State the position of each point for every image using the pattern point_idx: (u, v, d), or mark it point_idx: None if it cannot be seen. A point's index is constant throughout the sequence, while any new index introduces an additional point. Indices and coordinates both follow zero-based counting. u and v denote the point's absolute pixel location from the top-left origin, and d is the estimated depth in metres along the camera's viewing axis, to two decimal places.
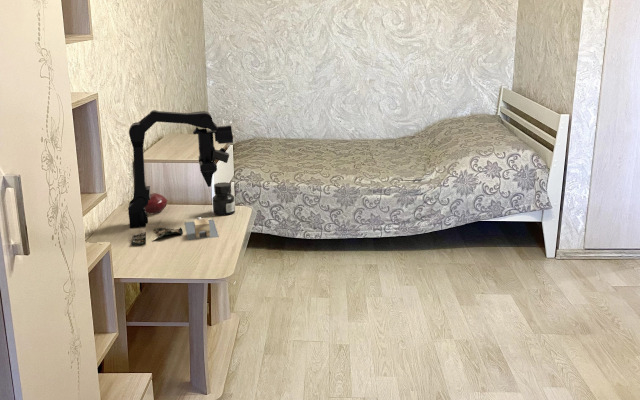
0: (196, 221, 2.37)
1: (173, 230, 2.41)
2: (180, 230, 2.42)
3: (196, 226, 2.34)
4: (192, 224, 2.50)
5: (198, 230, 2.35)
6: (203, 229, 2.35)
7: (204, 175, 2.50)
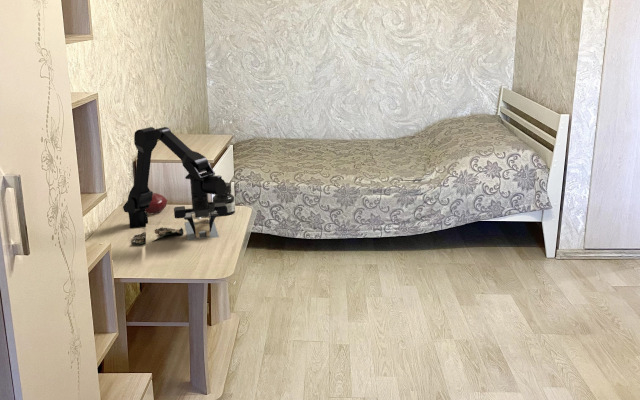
0: (196, 221, 2.37)
1: (174, 230, 2.41)
2: (181, 230, 2.42)
3: (196, 226, 2.34)
4: None
5: (198, 230, 2.35)
6: (203, 229, 2.35)
7: None
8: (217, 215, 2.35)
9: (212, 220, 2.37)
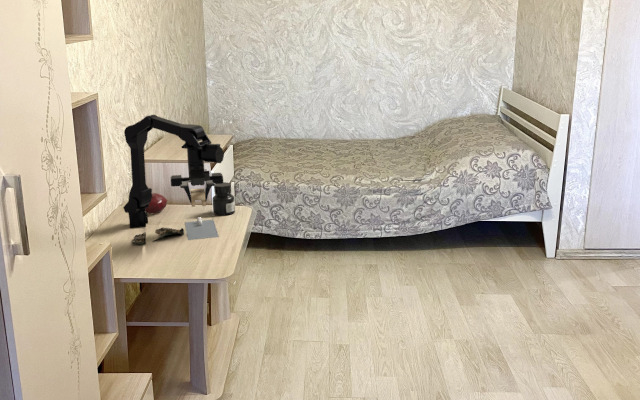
0: (192, 190, 2.41)
1: (174, 230, 2.41)
2: (181, 230, 2.41)
3: (192, 195, 2.37)
4: (192, 224, 2.50)
5: (194, 199, 2.38)
6: (199, 198, 2.38)
7: None
8: (213, 184, 2.39)
9: (208, 189, 2.40)
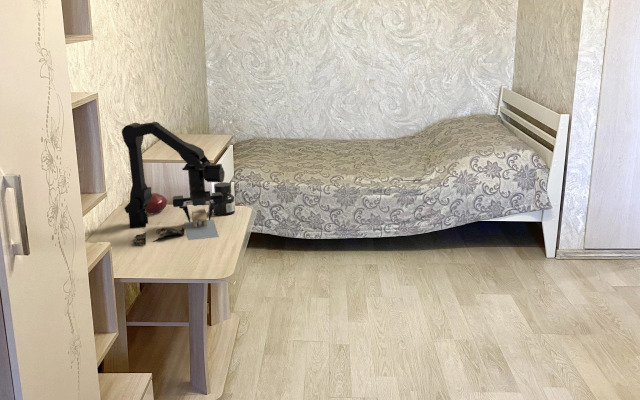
0: (193, 211, 2.49)
1: (175, 231, 2.40)
2: (182, 231, 2.41)
3: (194, 215, 2.46)
4: (192, 224, 2.50)
5: (196, 219, 2.47)
6: (200, 218, 2.47)
7: None
8: (216, 204, 2.47)
9: (211, 208, 2.49)
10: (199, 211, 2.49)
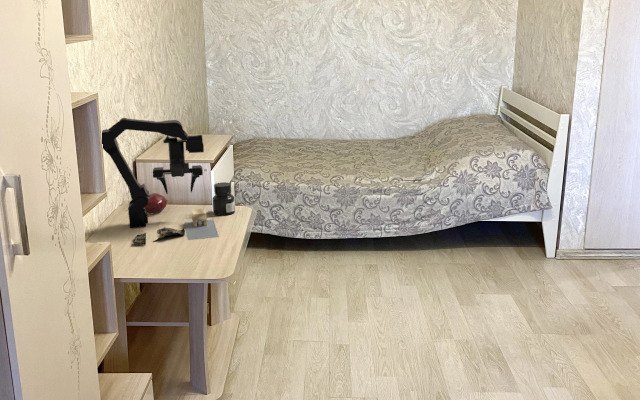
0: (193, 211, 2.49)
1: (176, 231, 2.40)
2: (183, 231, 2.41)
3: (194, 215, 2.46)
4: (192, 224, 2.50)
5: (196, 219, 2.47)
6: (200, 218, 2.47)
7: None
8: (198, 176, 2.53)
9: (193, 180, 2.54)
10: (199, 211, 2.49)
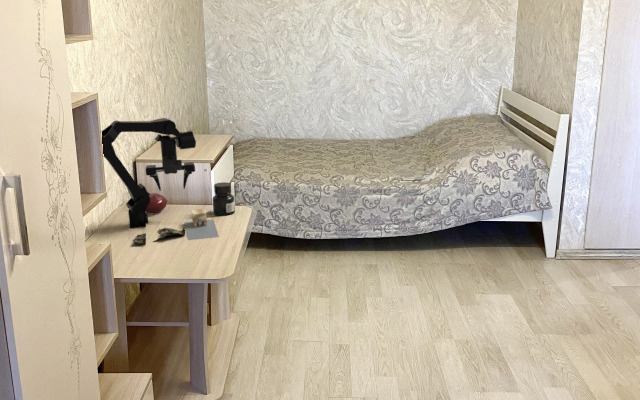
0: (193, 211, 2.49)
1: (176, 231, 2.40)
2: (183, 231, 2.41)
3: (194, 215, 2.46)
4: (192, 224, 2.50)
5: (196, 219, 2.47)
6: (200, 218, 2.47)
7: None
8: (190, 172, 2.56)
9: (186, 177, 2.58)
10: (199, 211, 2.49)
